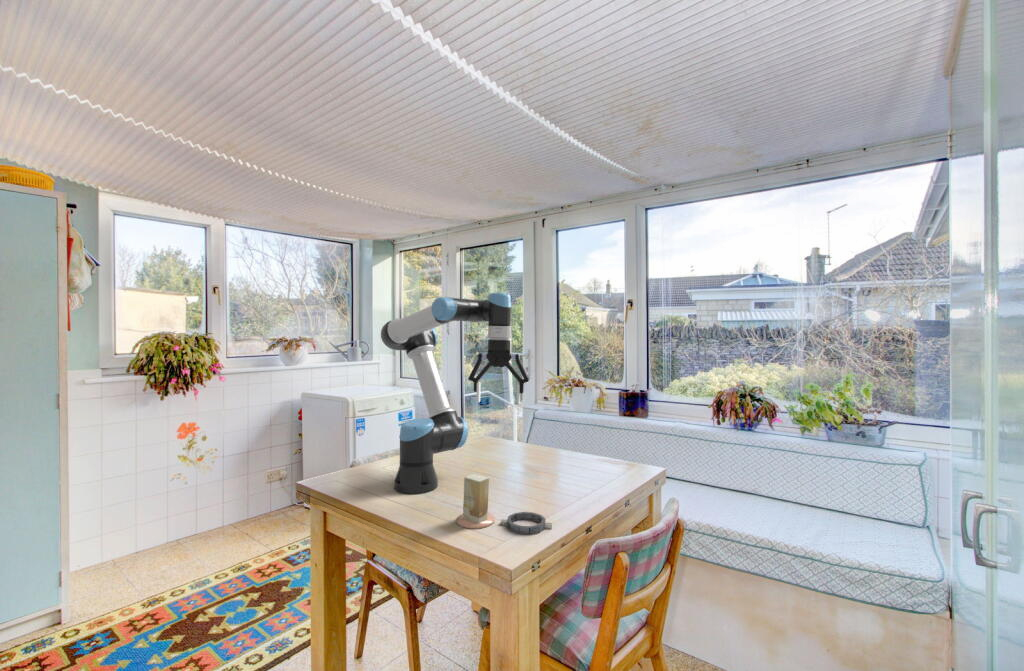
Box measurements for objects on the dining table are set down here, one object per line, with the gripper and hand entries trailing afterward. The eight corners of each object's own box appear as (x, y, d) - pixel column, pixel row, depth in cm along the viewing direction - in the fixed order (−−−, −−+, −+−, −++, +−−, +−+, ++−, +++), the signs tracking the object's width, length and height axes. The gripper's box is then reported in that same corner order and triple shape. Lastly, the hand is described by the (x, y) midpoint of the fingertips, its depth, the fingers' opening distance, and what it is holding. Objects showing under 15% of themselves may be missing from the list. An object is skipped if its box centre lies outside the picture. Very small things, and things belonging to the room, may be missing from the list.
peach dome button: (452, 527, 127) (452, 525, 127) (461, 512, 138) (461, 510, 138) (490, 530, 126) (490, 528, 126) (497, 514, 137) (497, 512, 137)
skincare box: (462, 518, 132) (462, 476, 132) (472, 513, 135) (472, 473, 135) (479, 524, 128) (479, 481, 128) (488, 519, 132) (489, 477, 132)
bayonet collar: (498, 532, 125) (498, 525, 125) (503, 516, 135) (503, 510, 135) (550, 535, 123) (551, 529, 123) (552, 519, 133) (552, 513, 133)
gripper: (460, 338, 149) (459, 402, 149) (535, 339, 146) (534, 405, 146) (465, 338, 157) (464, 399, 157) (537, 339, 153) (536, 402, 153)
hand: (498, 402), depth 151 cm, fingers open, 13 cm apart
